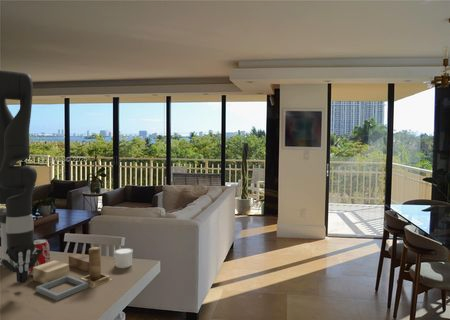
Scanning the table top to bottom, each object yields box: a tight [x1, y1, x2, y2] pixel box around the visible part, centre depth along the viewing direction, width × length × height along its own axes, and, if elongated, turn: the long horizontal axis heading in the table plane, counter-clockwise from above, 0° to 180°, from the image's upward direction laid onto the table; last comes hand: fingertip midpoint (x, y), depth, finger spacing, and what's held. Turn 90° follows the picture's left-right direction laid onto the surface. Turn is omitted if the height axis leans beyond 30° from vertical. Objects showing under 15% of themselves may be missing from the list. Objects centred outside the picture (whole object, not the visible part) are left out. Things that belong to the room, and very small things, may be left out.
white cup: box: [113, 247, 134, 269], centre depth 135 cm, size 7×7×7 cm
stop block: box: [68, 253, 89, 273], centre depth 133 cm, size 12×3×5 cm, turn 57°
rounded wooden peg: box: [88, 246, 102, 282], centre depth 121 cm, size 4×4×11 cm
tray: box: [35, 274, 89, 302], centre depth 114 cm, size 11×11×3 cm
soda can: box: [28, 238, 51, 277], centre depth 130 cm, size 7×7×12 cm
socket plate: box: [79, 272, 113, 289], centre depth 121 cm, size 8×8×3 cm
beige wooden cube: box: [32, 260, 70, 284], centre depth 123 cm, size 8×8×6 cm
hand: (22, 282), depth 114 cm, fingers closed
